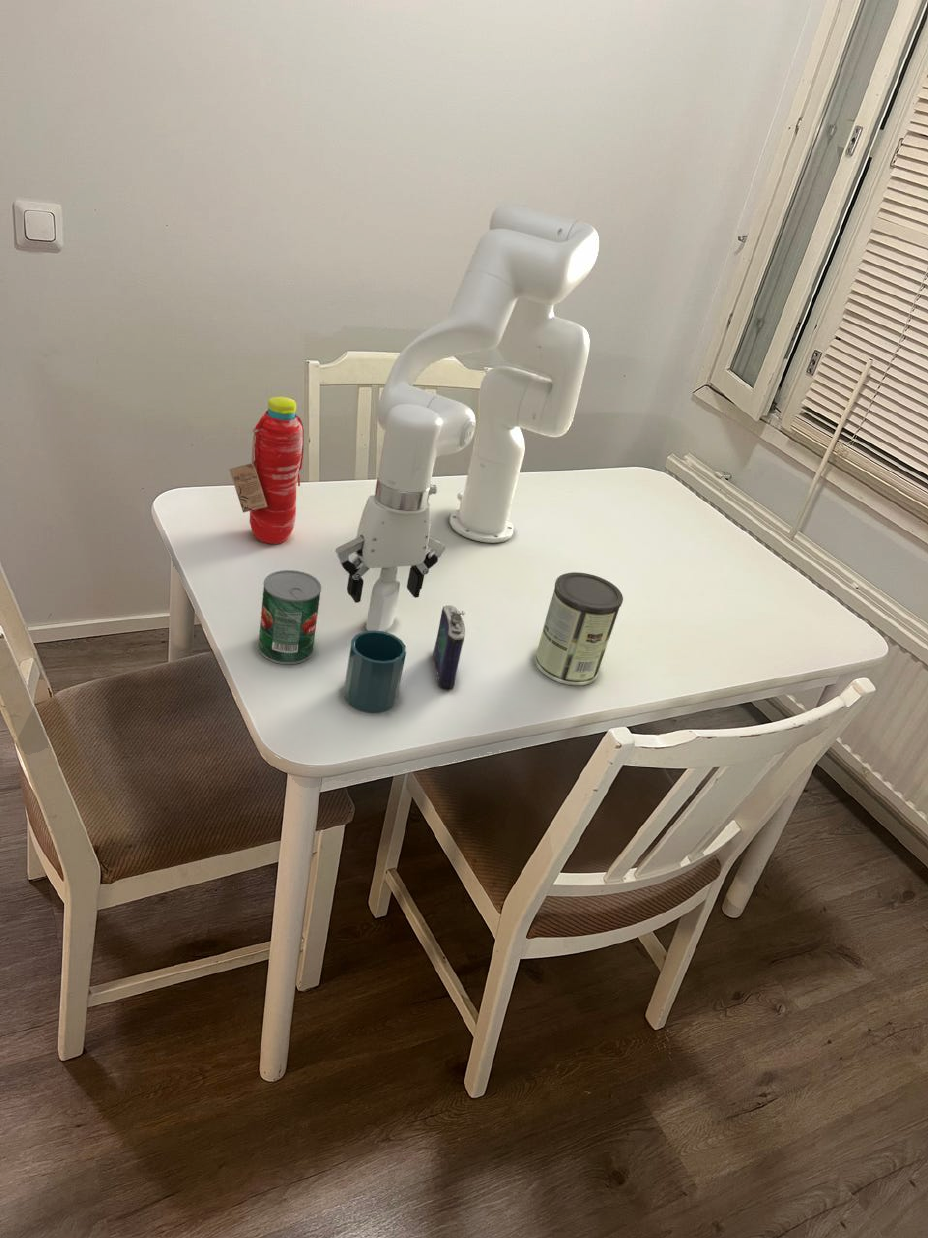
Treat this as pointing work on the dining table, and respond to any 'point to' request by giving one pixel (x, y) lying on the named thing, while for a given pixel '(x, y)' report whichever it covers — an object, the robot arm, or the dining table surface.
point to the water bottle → (272, 472)
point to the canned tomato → (289, 616)
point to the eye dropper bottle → (383, 600)
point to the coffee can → (577, 628)
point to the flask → (448, 646)
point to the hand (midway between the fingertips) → (383, 595)
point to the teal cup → (374, 671)
